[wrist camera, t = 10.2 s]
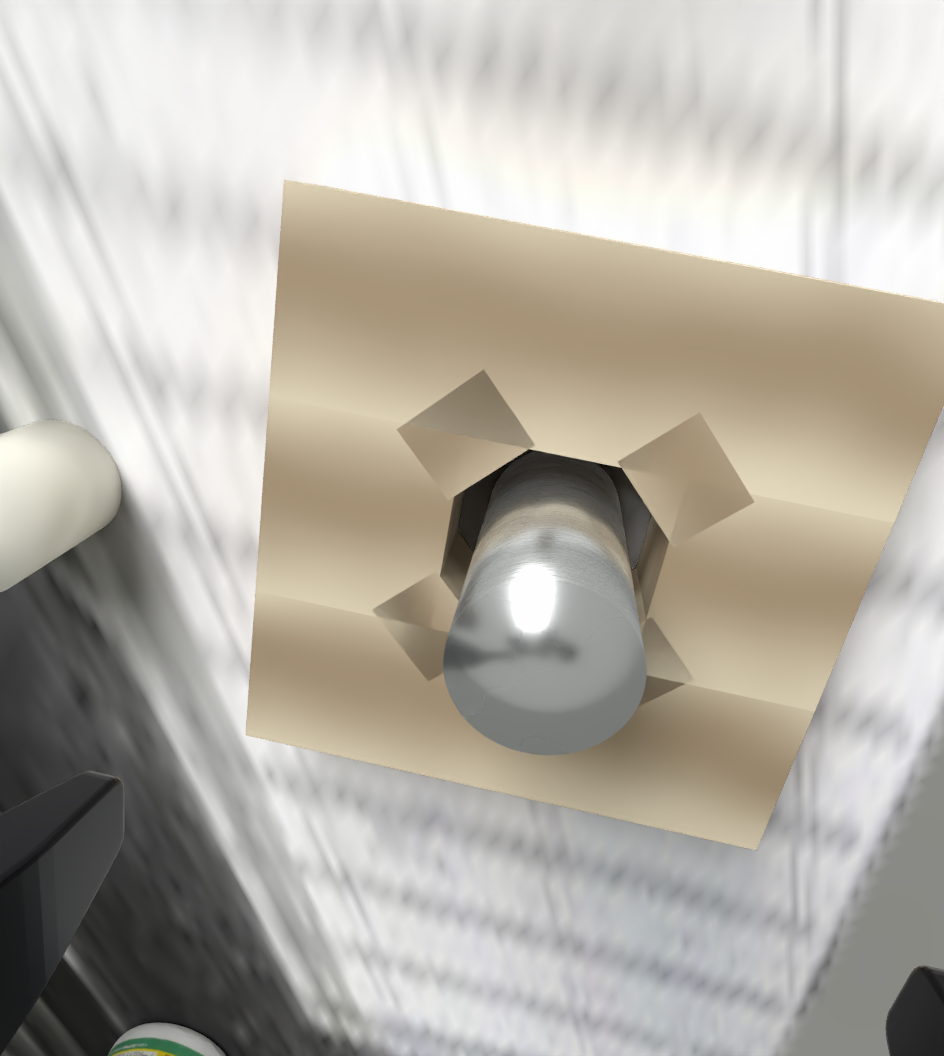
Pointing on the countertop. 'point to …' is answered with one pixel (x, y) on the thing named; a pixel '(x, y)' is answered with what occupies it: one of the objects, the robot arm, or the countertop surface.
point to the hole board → (588, 434)
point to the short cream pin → (51, 494)
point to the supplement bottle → (164, 1042)
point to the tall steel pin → (548, 613)
